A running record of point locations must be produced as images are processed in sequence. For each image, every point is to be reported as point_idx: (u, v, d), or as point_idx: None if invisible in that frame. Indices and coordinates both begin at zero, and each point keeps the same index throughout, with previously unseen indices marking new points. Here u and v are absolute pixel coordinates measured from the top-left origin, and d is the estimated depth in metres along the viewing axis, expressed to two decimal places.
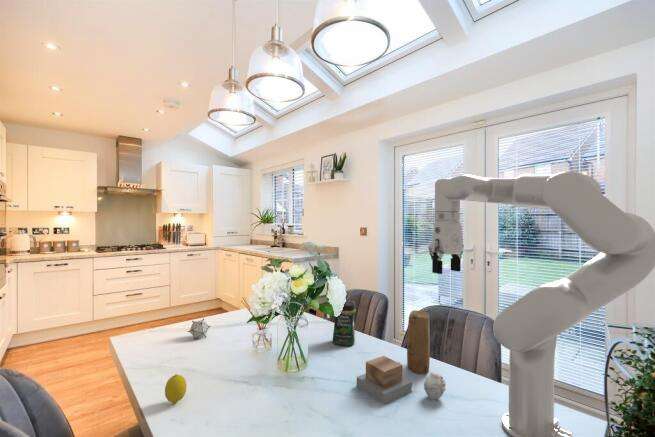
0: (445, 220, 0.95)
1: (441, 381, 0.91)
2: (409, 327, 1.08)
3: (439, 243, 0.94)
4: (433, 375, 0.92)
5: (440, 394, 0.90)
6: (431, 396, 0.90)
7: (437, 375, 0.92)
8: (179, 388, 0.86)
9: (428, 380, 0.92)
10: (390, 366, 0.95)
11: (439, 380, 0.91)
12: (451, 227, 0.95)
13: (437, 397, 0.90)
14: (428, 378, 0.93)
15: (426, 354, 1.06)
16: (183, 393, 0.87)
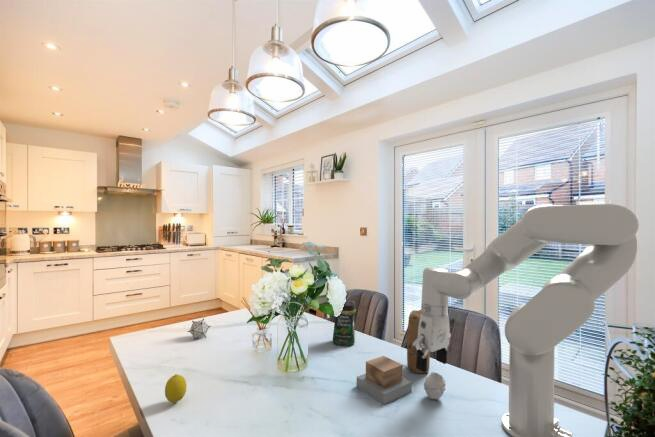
0: (431, 315, 0.90)
1: (441, 381, 0.91)
2: (409, 327, 1.08)
3: (424, 339, 0.89)
4: (433, 375, 0.92)
5: (440, 394, 0.90)
6: (431, 396, 0.90)
7: (437, 375, 0.92)
8: (179, 388, 0.86)
9: (428, 380, 0.92)
10: (390, 366, 0.95)
11: (439, 380, 0.91)
12: (438, 323, 0.90)
13: (437, 397, 0.90)
14: (428, 378, 0.93)
15: None
16: (183, 393, 0.87)
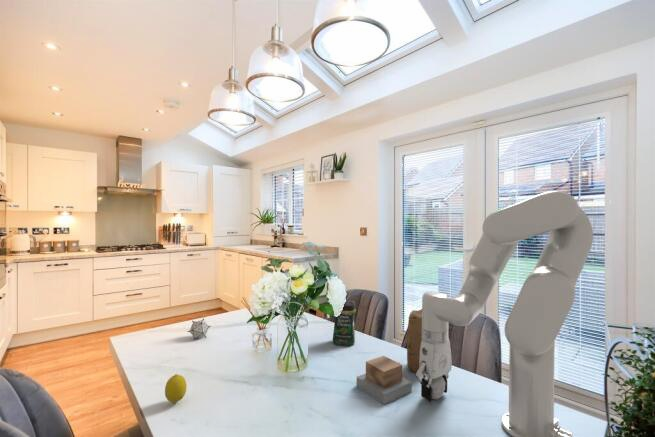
0: (432, 341, 0.89)
1: (441, 381, 0.91)
2: (409, 327, 1.08)
3: (426, 366, 0.89)
4: None
5: (440, 394, 0.90)
6: None
7: None
8: (179, 388, 0.86)
9: None
10: (390, 366, 0.95)
11: (439, 379, 0.91)
12: (439, 349, 0.89)
13: (437, 397, 0.90)
14: None
15: None
16: (183, 393, 0.87)
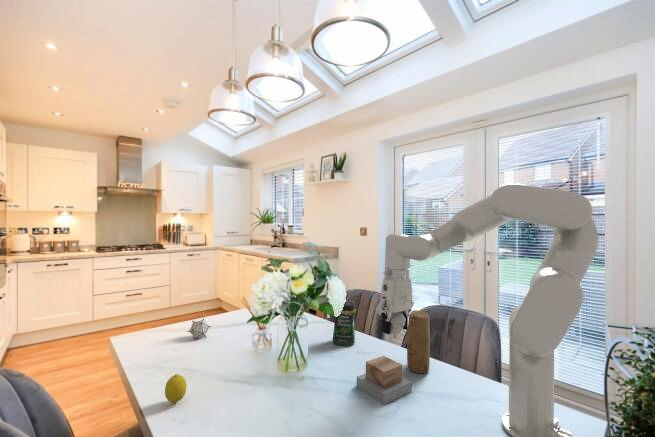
0: (393, 278, 0.93)
1: (401, 317, 0.95)
2: (409, 327, 1.08)
3: (386, 301, 0.93)
4: None
5: (399, 329, 0.94)
6: (391, 331, 0.94)
7: (398, 312, 0.96)
8: (179, 388, 0.86)
9: None
10: (390, 366, 0.95)
11: (399, 315, 0.95)
12: (399, 285, 0.93)
13: (396, 331, 0.94)
14: None
15: (426, 354, 1.06)
16: (183, 393, 0.87)
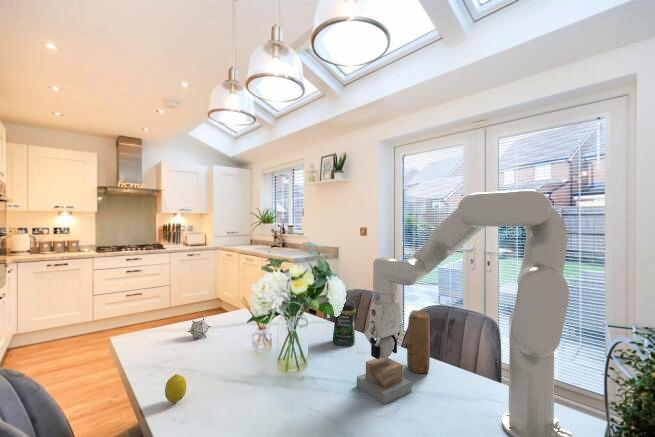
0: (381, 302, 0.94)
1: (390, 341, 0.96)
2: (409, 327, 1.08)
3: (374, 326, 0.93)
4: None
5: (388, 353, 0.95)
6: (380, 355, 0.95)
7: None
8: (179, 388, 0.86)
9: None
10: (390, 366, 0.95)
11: (388, 339, 0.96)
12: (387, 310, 0.94)
13: (385, 355, 0.95)
14: None
15: (426, 354, 1.06)
16: (183, 393, 0.87)
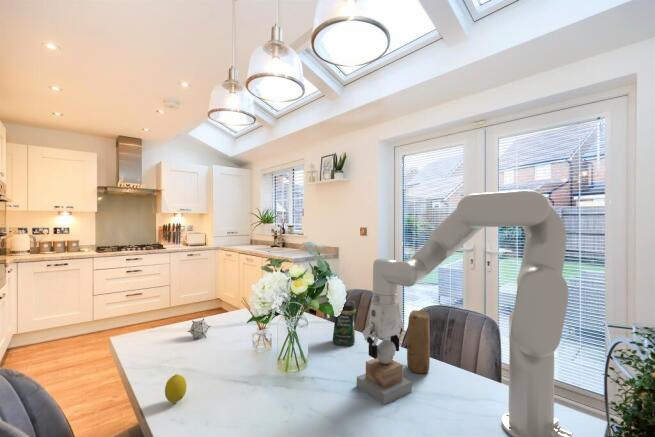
0: (380, 303, 0.94)
1: (391, 346, 0.96)
2: (409, 327, 1.08)
3: (374, 327, 0.93)
4: (384, 341, 0.97)
5: (389, 358, 0.95)
6: (381, 360, 0.95)
7: (388, 341, 0.97)
8: (179, 388, 0.86)
9: (379, 346, 0.97)
10: (390, 366, 0.95)
11: (389, 345, 0.96)
12: (387, 311, 0.94)
13: (387, 361, 0.95)
14: (379, 344, 0.97)
15: (426, 354, 1.06)
16: (183, 393, 0.87)
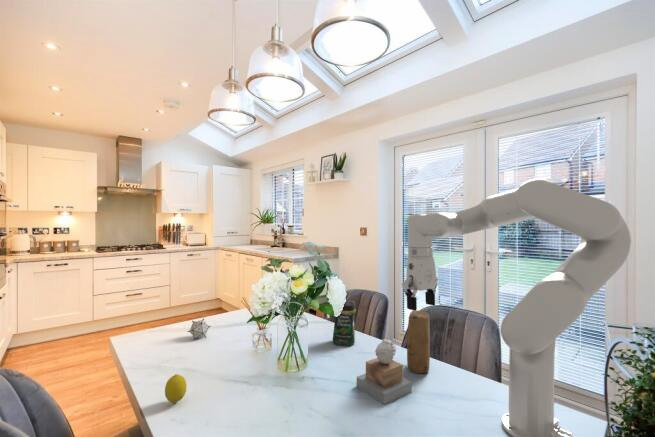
0: (418, 256, 0.96)
1: (391, 346, 0.96)
2: (409, 327, 1.08)
3: (413, 279, 0.95)
4: (384, 341, 0.97)
5: (389, 358, 0.95)
6: (381, 360, 0.95)
7: (388, 341, 0.97)
8: (179, 388, 0.86)
9: (379, 346, 0.97)
10: (390, 366, 0.95)
11: (389, 345, 0.96)
12: (424, 263, 0.96)
13: (387, 361, 0.95)
14: (379, 344, 0.97)
15: (426, 354, 1.06)
16: (183, 393, 0.87)
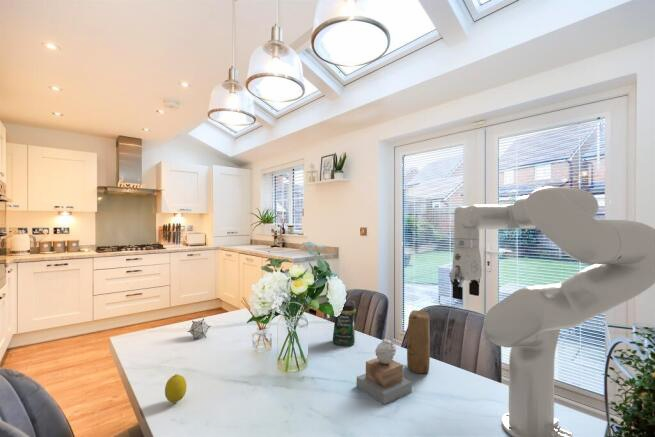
0: (465, 247, 0.98)
1: (391, 346, 0.96)
2: (409, 327, 1.08)
3: (459, 270, 0.97)
4: (384, 341, 0.97)
5: (389, 358, 0.95)
6: (381, 360, 0.95)
7: (388, 341, 0.97)
8: (179, 388, 0.86)
9: (379, 346, 0.97)
10: (390, 366, 0.95)
11: (389, 345, 0.96)
12: (471, 254, 0.98)
13: (387, 361, 0.95)
14: (379, 344, 0.97)
15: (426, 354, 1.06)
16: (183, 393, 0.87)
